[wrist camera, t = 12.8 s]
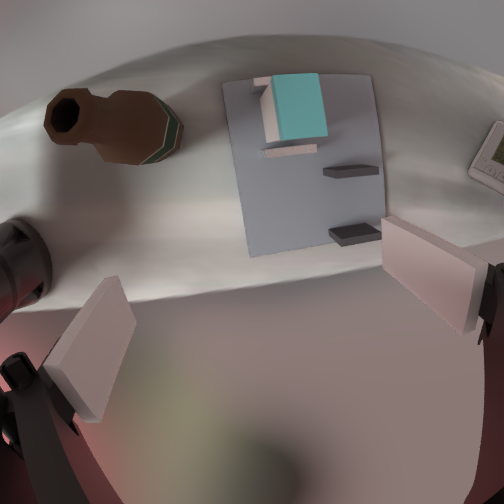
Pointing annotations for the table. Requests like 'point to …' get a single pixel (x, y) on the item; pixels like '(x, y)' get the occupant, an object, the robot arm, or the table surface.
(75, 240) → the table surface
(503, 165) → the digital clock
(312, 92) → the white and teal box
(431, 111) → the table surface
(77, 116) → the beer bottle
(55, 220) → the table surface
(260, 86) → the port
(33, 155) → the table surface
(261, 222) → the panel
